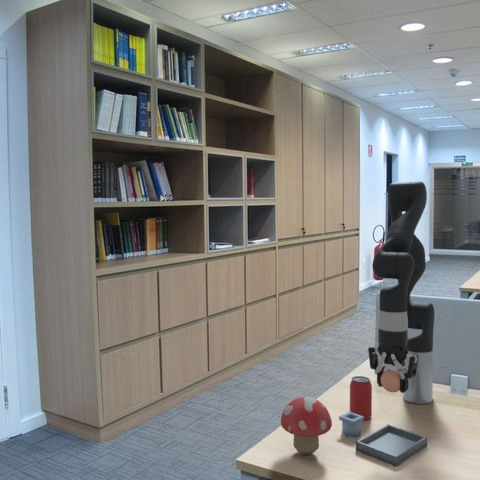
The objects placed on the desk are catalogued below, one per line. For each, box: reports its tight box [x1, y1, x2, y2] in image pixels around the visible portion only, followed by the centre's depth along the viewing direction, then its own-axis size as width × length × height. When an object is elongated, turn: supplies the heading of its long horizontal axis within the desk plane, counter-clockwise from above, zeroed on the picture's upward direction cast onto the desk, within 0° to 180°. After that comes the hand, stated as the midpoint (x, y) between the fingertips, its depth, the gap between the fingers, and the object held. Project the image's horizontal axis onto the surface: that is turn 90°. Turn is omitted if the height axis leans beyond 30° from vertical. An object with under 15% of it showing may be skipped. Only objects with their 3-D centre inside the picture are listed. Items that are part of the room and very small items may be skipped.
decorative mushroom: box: [280, 396, 333, 456], centre depth 137 cm, size 13×13×15 cm
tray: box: [355, 424, 428, 467], centre depth 140 cm, size 16×12×2 cm
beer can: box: [349, 375, 373, 421], centre depth 161 cm, size 7×7×12 cm
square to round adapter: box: [338, 411, 365, 438], centre depth 150 cm, size 5×5×5 cm
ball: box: [381, 368, 401, 393], centre depth 139 cm, size 6×6×6 cm
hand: (392, 388), depth 139 cm, fingers closed on ball, 6 cm apart
